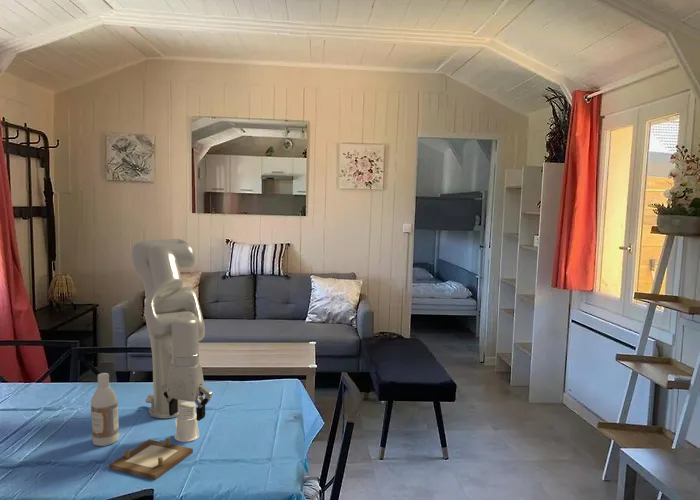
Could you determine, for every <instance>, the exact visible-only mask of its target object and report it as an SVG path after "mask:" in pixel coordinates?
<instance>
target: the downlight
mask: <svg viewBox="0 0 700 500" xmlns="http://www.w3.org/2000/svg"><path fill="white" fill-rule="evenodd" d="M196 406H197V404H196V402H195V401H192V402H191V401H185V402H183V403H181V404H180V405H179V415H177V417H176V418H175V422H174V423H175V429H176V434H175V435H174V440H176V441H178V442H182V443H188V442H193V441H195V440H198V439H199V437H200V429H199V425H198V421H197V414H196V408H197V407H196Z"/></svg>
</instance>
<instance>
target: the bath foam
mask: <svg viewBox="0 0 700 500" xmlns="http://www.w3.org/2000/svg"><path fill="white" fill-rule="evenodd" d="M90 400H91V401H90V410H91V412H90V415H91V435H92V443H93V445H94V446H97V447H105V446H110V445H113V444H114V443H116V442H118V441H119V438H120V431H119V430H120V427H119V406H118V405H119V402H118V396H117V394H116V392H115V390H114V389H113V388H112V387H111V386H110V374H109V373H107V372H101V373H98V374H97V389H96V390H95V392H94V393H93V395H92V397H91V399H90Z"/></svg>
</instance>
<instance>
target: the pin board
mask: <svg viewBox="0 0 700 500" xmlns="http://www.w3.org/2000/svg"><path fill="white" fill-rule="evenodd" d="M164 441H165V442H164ZM164 441H160V440H154V439H151V438H150V439H147V440H146V441H144V442H143V443H140V445H137V446H135V448H133V449H131V450H130V449H125V450H124V454H123V455H121V456H120V457H118V458H116V459H115V460H113V461H112V462H110V463H109V464H108V468H109V469H110V470H114V471H117V472H121V473H126V474H129V475H134V476H139V477H142V478H147V479H151V480H155V481H156V480H157V479H159V478H160V477H162V476H164V474H166V473H167V472H168V471H170V470H171V469H173V468H174V467H175V466H177V465H178V464H179V463H182V461H184V460H185V459H186V458H188V457H189V456H191V455H192V454H193V453H194V452H193V451H194V449H193V448H191V447H187V446H183V445H177V444H173V443H171V438H169V437H166V438H165V439H164Z"/></svg>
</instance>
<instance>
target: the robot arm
mask: <svg viewBox="0 0 700 500" xmlns="http://www.w3.org/2000/svg"><path fill="white" fill-rule="evenodd" d="M131 256H132V257H131V259H132V263H133V267H134V269H135V271H136V274H137V275H138V277H139V278H140V280H141V282H142V284H143V289H144V292H145V298H146V301H145V304H144V318H145V323H146V328H147V333H148V336H149V342H150V347H151V348H150V349H151V356H152V357H151V358H152V383H153V387H152V388H153V389H152V390H153V394H151V393H150V394H148V395H147V396H146V397H147V398H145V403H147V404H151V406H150V407H149V409H148V414H149V416H151V417H152V418H155V419H171V418H172V419H173V418H177V415H179V405H180V404H181V403H183V402H194V403H195V404H196V406H197V407H196V411H195V412H196V414H197V422H199V421H202V420H203V419H205V417H206V405H207V404H208V403H209V402H210V401H211V398H212V396H213V391H211V390H210V389H209V388H207V387H206V386H205V380H204V373H203V368H202V367H203V366H202V364H201V363H200V347H199V345H200V344H199V343H200V341H202V340H204V338H205V335H206V327H205V326H206V325H205V322H204V317H203V313H202V310H201V306H200V302H199V299H198V295H197V293H196V291H195V290H194V289H193V288H192V287H188V286H183V285H184V284H183V279H182V274H181V271H180V270H181V269H191V268H193V267H194V265H195V263H196V254H195V251H194V248H193V246H192V244H190V243H189V242H188V241H186V240H184V239H182V238H181V239H180V238H167V239H165V238H163V239H146V240H141V241H138V242H136V243H134V244H133V246H132V249H131ZM204 395H205V396H204Z"/></svg>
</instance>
